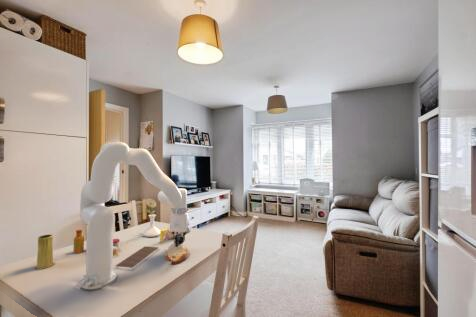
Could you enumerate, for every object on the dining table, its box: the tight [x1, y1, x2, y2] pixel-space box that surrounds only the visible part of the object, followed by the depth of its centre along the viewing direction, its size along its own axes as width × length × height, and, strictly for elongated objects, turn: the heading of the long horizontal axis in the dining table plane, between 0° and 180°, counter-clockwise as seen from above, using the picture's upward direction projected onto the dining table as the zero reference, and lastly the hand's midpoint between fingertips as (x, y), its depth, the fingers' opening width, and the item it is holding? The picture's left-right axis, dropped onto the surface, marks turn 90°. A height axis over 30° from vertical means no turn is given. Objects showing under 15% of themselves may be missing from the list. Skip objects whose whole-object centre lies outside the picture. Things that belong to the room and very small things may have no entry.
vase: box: [35, 234, 54, 270], centre depth 105 cm, size 6×6×14 cm
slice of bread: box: [165, 244, 189, 265], centre depth 119 cm, size 18×18×4 cm
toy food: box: [72, 229, 121, 256], centre depth 122 cm, size 27×13×12 cm, turn 73°
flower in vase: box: [142, 198, 161, 238], centre depth 150 cm, size 13×11×25 cm
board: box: [115, 246, 159, 269], centre depth 115 cm, size 24×9×1 cm, turn 171°
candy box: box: [159, 227, 181, 243], centre depth 141 cm, size 16×2×8 cm, turn 143°
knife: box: [164, 235, 186, 256], centre depth 118 cm, size 21×2×3 cm, turn 170°
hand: (179, 243), depth 124 cm, fingers closed on knife, 2 cm apart
